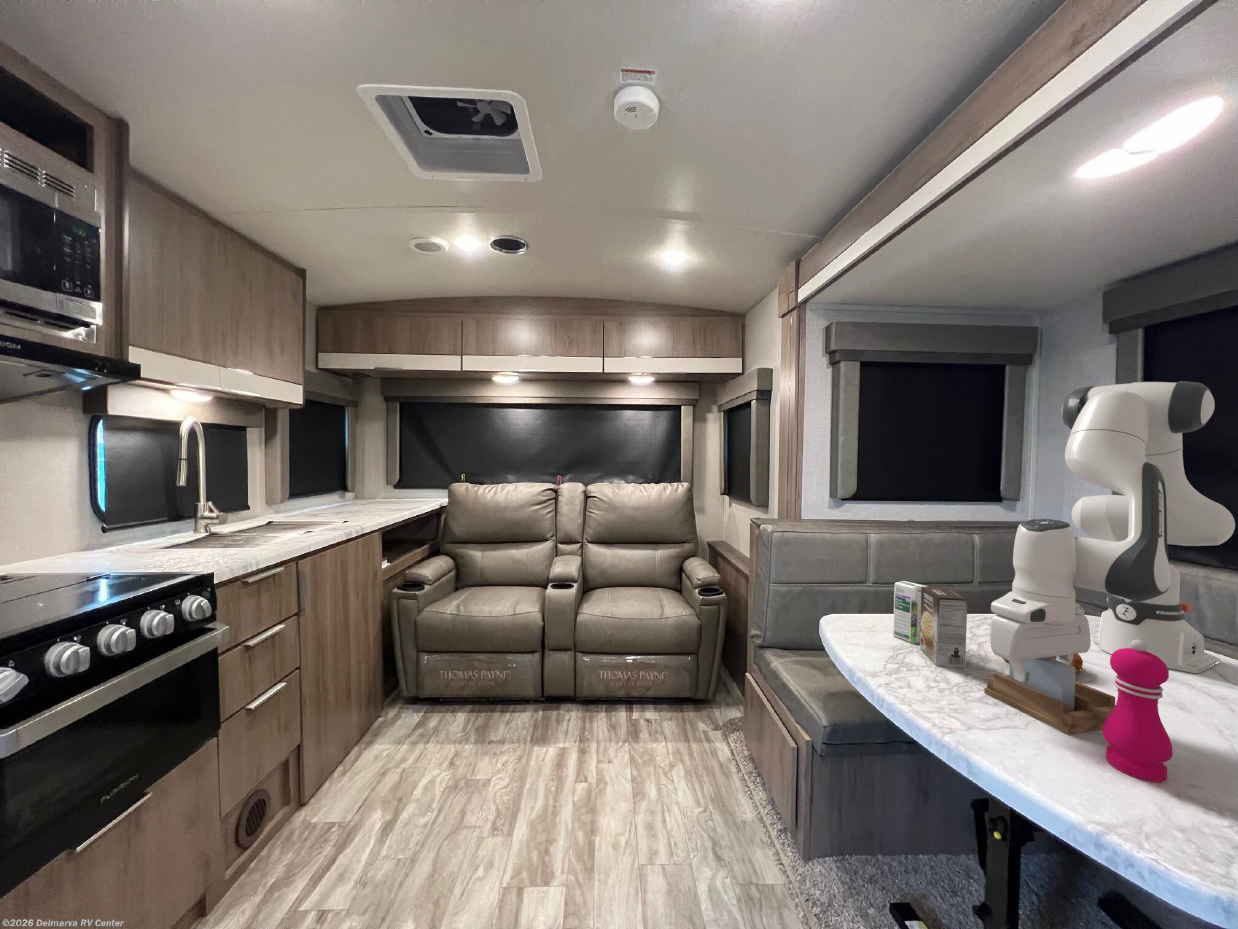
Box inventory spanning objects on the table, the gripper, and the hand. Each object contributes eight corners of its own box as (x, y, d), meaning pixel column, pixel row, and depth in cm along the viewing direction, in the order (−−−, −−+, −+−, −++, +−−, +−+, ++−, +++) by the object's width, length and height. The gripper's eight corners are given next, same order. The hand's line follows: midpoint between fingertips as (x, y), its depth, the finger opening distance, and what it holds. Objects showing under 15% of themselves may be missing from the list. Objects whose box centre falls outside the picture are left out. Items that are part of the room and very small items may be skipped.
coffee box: (918, 649, 114) (919, 585, 114) (947, 652, 113) (948, 587, 113) (935, 666, 105) (937, 596, 105) (967, 669, 104) (969, 598, 104)
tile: (1020, 691, 92) (1021, 647, 92) (1074, 716, 83) (1075, 667, 83) (1008, 693, 91) (1010, 648, 91) (1061, 718, 83) (1063, 669, 82)
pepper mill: (1088, 754, 74) (1091, 631, 74) (1128, 752, 75) (1132, 630, 74) (1142, 786, 67) (1147, 650, 67) (1186, 784, 67) (1191, 649, 67)
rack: (1036, 685, 97) (1037, 664, 96) (1126, 724, 83) (1126, 700, 82) (984, 692, 93) (984, 671, 93) (1067, 734, 79) (1068, 709, 79)
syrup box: (892, 636, 123) (893, 582, 122) (905, 632, 125) (906, 580, 125) (914, 644, 118) (915, 588, 117) (927, 640, 120) (928, 585, 120)
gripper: (1064, 597, 92) (1062, 665, 93) (983, 603, 88) (982, 675, 88) (1103, 607, 86) (1101, 680, 87) (1019, 615, 82) (1017, 692, 82)
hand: (1040, 677), depth 87 cm, fingers open, 8 cm apart
